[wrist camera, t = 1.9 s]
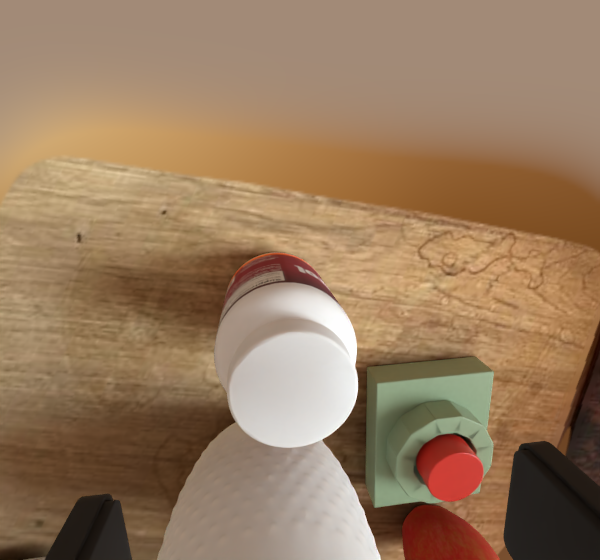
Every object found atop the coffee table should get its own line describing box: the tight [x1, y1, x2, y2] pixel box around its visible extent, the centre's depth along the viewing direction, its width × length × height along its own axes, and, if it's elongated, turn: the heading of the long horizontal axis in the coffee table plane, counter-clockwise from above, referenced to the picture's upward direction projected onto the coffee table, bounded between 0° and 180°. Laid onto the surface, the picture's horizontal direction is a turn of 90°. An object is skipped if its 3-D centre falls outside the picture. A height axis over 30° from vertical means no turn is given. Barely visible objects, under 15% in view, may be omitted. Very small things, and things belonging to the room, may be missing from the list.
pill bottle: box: [214, 252, 358, 448], centre depth 18 cm, size 6×6×11 cm
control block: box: [365, 357, 494, 508], centre depth 26 cm, size 10×8×4 cm
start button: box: [416, 434, 484, 501], centre depth 23 cm, size 4×4×2 cm
